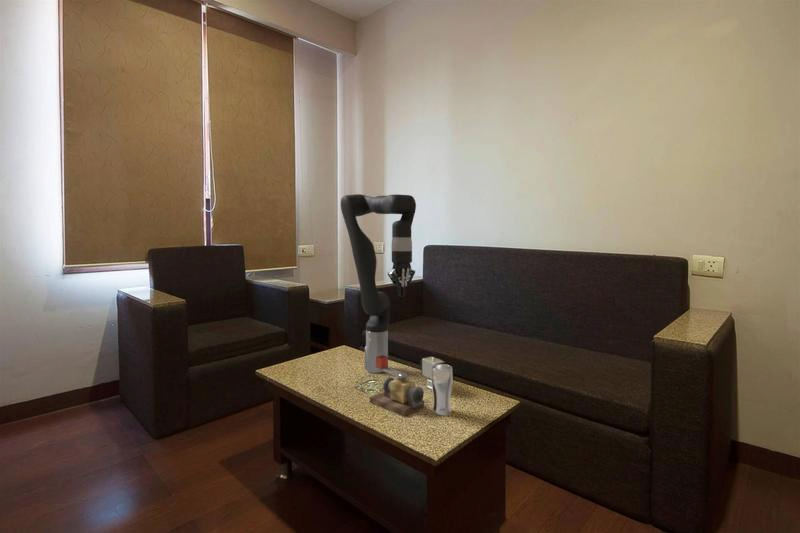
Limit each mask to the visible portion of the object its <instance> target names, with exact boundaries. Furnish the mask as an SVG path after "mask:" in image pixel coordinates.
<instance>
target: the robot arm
mask: <svg viewBox="0 0 800 533" xmlns="http://www.w3.org/2000/svg"><path fill="white" fill-rule="evenodd" d="M416 207H417V204H416V200H415V197H414V196H413V195H410V194H399V193H398V194H397V193H396V194H387V195H378V196H377V195H376V196H369V195H366V194H360V193H358V194H357V193H356V194H345V195H343V196H342V197H341V199H340V209H341V210H340V211H341V214H342V217H343V220H344V223H345V226H346V229H347V230H346V231H347V233H348V237H349V241H350V246H351V250H352V255H353V256H352V257H353V259H354V261H353V262H354V264H355V268H356V274H357V279H358V282H359V289H360V298H361V304H362V308H363V310H364V312H365V313H366V314H367V316H369V319H368V321H367V322H366V324H365V346H364V370H366V371H367V372H368V373H373V374H382V373H385V372H384V371H382V370H379V369H376V357H377V356H381V355H383V356H386V357H388V358H389V340H388V339H389V333H388V332H389V331H388V330H389V324H390V318H391V315H390V314H391V302H390V297H389V296H388V294H386V293H385V292H384V291H378V288H377V285H376V272H377V263H378V262H377V255H376V250H375V246H374V244H373V242H372V241H371V239H370V238H369V237H368V236H367V235H366V233H365V232H364V231H363V230H362V229H361V227H360V225H359V223H358V220H357V217H363V216H365V215H369V214H372V213H375V214H378V215H401V216H400V219H399V220H397V221H396V220H395V221H394V222H392V224H391V225H392V226H391V230H392V232H391V233H392V234H391V235H392V236H391V237H392V238H391V263H392V268H391V271H390V272H389V271H388V272H387V276H388V278H389V279H390V281H391V282H392V284H393V285H394V286H397V295H398V297H401V298H403V297H406V294H407V286H408V285H410V284H411V283H412V280H413V278H414V276H415V274H416V270H415V269H414V270H413V269H412V266H411V263H413V240H412V225H413V221H414V218H415V214H416V210H417V208H416Z"/></svg>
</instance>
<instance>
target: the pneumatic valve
mask: <svg viewBox="0 0 800 533" xmlns="http://www.w3.org/2000/svg"><path fill="white" fill-rule="evenodd" d="M437 364H446V365H447V362H446V361H443V360H442V359H440V358H436V357H434V356H426V357H422V358H420V362H419V368H420V374H421V375H422V376H425V377H427V378H428V379H426V384H427V385H426V388H427V389H429V390H432V384H431V375H432V366H434V365H437Z"/></svg>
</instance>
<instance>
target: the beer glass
mask: <svg viewBox="0 0 800 533" xmlns="http://www.w3.org/2000/svg"><path fill="white" fill-rule="evenodd" d="M430 379H431V384H432V395H433V396H432V397H433V404H432V405H433V407H432V413H433V414H434V415H437V416H448V415H450V414H452V409H451V408H452V407H451V395H452V390H453V379H454V378H453V366H452V365H449V364H447V363H446V364H437V365H434V366H432V375H431V378H430Z"/></svg>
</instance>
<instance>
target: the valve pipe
mask: <svg viewBox="0 0 800 533" xmlns="http://www.w3.org/2000/svg"><path fill="white" fill-rule="evenodd" d="M382 384H383V385H382V389H383V391H382V392H379V393H377V394H374V395H372V396H370V397H369V403H370V404H372V405H375V406H377V407H380V408H382V409H384V410H387V411H389V412H392V413H395V414H396V415H399V416H402V417H406V416H408V415H410V414H412V413H415V412H416V411H418V410H421V409H423V408H424V407H425V401H424V400H423V398H424V395H425V394H424V389H423V387H421V386H416V380H413V379H410V378H407V379H399V378H393V377H390V376H389V377H387V378H385V379H384V382H383V383H382Z"/></svg>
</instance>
